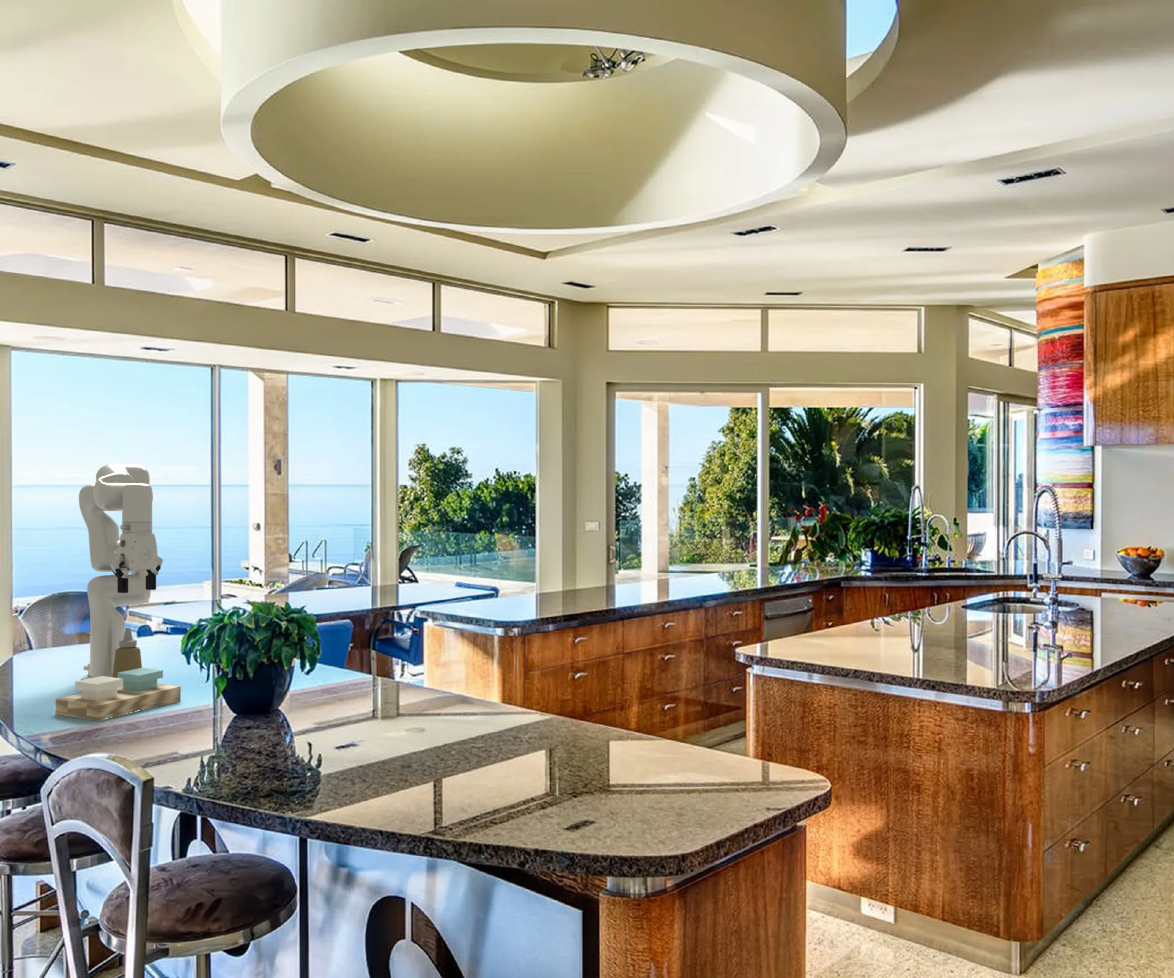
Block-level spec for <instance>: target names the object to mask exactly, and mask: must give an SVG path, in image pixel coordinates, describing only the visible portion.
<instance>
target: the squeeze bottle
mask: <svg viewBox="0 0 1174 978" xmlns="http://www.w3.org/2000/svg"><path fill="white" fill-rule="evenodd" d="M137 642H138V641H137V639H134V637H133V634H132V630H131V627H125V634H124V638H123V640H121V641H119V647H120V648H118V649H117V650H115V659H114V667H113V676H112V677H113V678H118V673H119V672H124V671H129V670H134V669H138V668H143V664H142V662H143V661H142V655H141V653H142V652H141V649H140V647H138V643H137Z"/></svg>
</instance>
